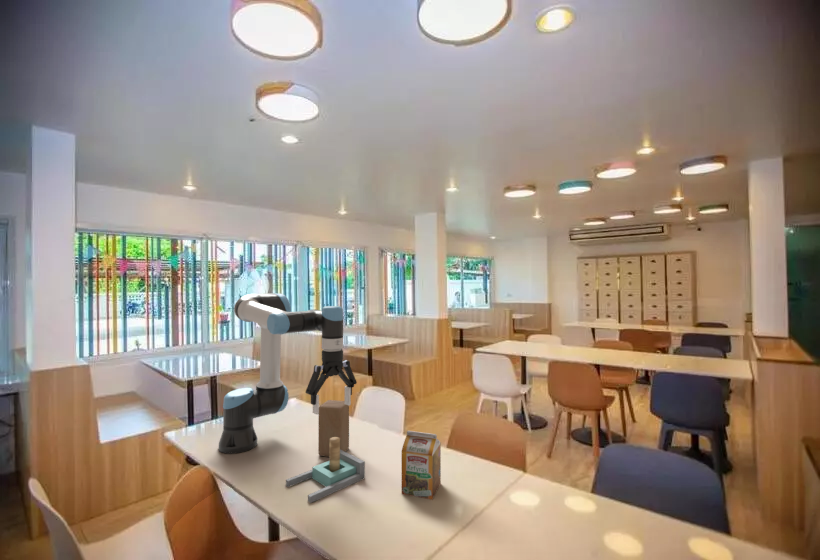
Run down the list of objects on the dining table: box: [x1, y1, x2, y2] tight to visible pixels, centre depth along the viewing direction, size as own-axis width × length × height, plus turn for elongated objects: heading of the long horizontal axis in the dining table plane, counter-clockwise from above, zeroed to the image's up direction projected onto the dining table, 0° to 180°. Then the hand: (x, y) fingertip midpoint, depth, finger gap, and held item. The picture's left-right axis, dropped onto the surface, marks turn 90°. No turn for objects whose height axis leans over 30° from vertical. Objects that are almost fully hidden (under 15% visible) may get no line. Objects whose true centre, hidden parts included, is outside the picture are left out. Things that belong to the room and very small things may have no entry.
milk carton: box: [401, 430, 442, 501], centre depth 134 cm, size 11×11×19 cm
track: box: [285, 449, 366, 504], centre depth 138 cm, size 16×22×6 cm
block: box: [317, 399, 350, 458], centre depth 162 cm, size 10×10×20 cm
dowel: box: [329, 437, 340, 472], centre depth 141 cm, size 4×4×14 cm
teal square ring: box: [311, 459, 356, 488], centre depth 141 cm, size 11×11×4 cm
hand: (332, 408), depth 141 cm, fingers open, 13 cm apart
